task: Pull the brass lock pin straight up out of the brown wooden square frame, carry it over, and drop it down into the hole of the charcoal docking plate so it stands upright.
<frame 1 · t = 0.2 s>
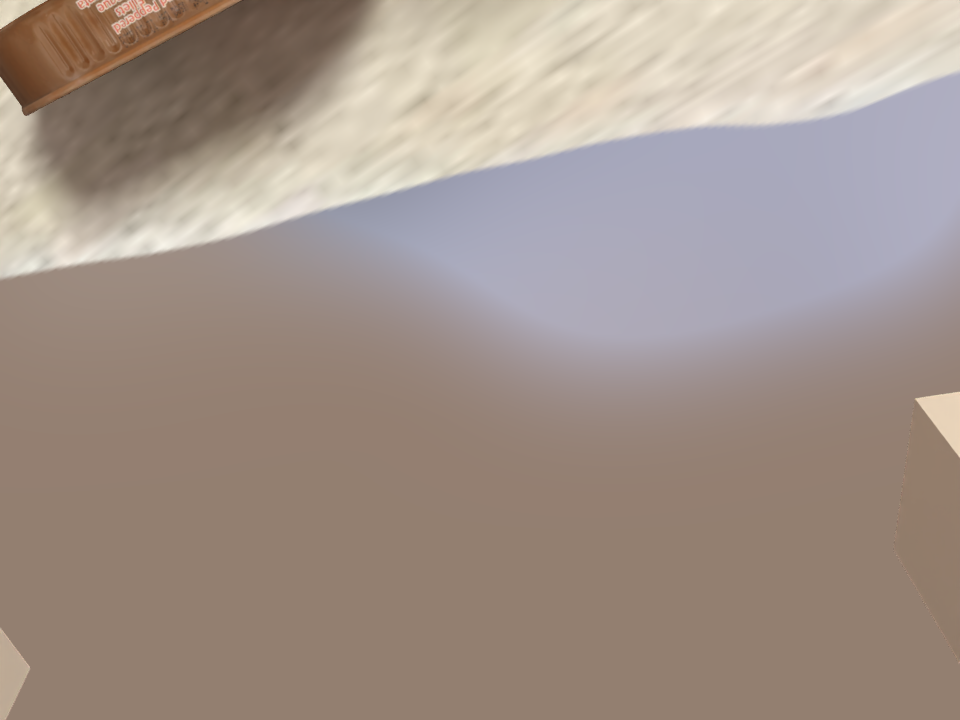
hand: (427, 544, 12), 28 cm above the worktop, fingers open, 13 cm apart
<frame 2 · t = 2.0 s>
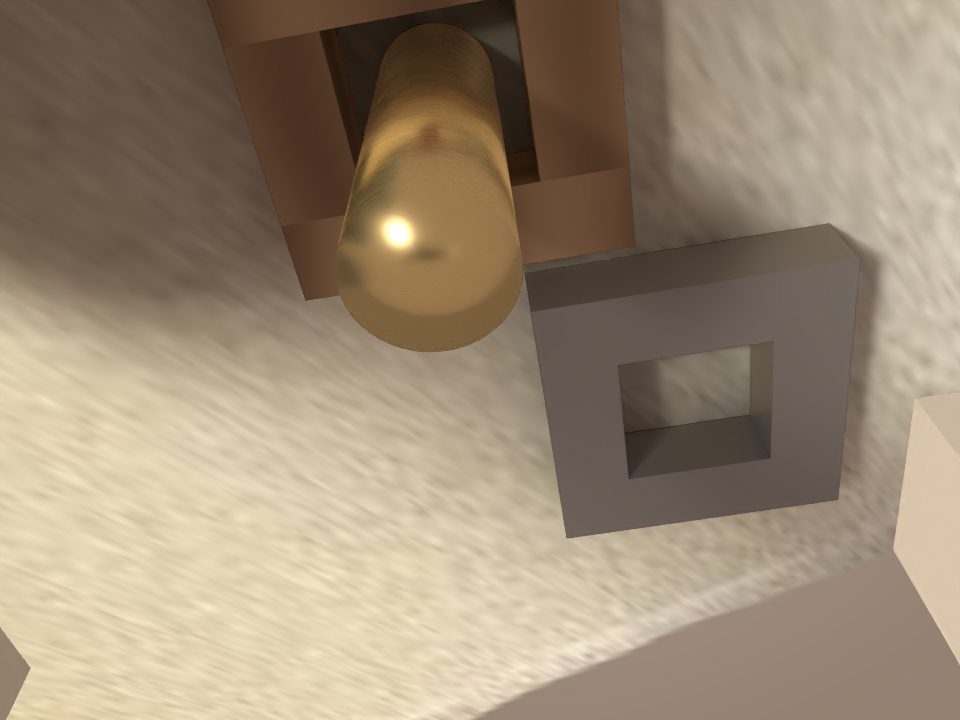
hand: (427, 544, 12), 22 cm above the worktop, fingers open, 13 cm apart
docking plate: (680, 371, 37), on the worktop
brown wooden square frame: (436, 83, 30), on the worktop
lock pin: (433, 155, 24), in the brown wooden square frame
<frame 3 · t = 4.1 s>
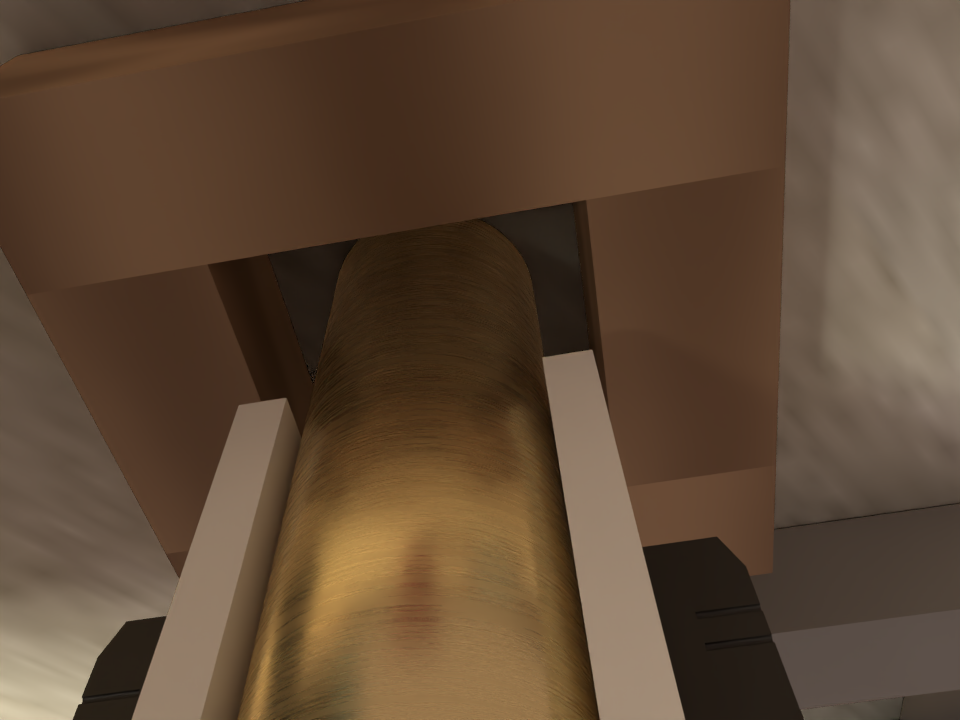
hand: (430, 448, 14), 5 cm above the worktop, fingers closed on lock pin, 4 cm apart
docking plate: (804, 672, 25), on the worktop
brown wooden square frame: (434, 301, 17), on the worktop
lock pin: (427, 558, 12), in the brown wooden square frame, touching gripper
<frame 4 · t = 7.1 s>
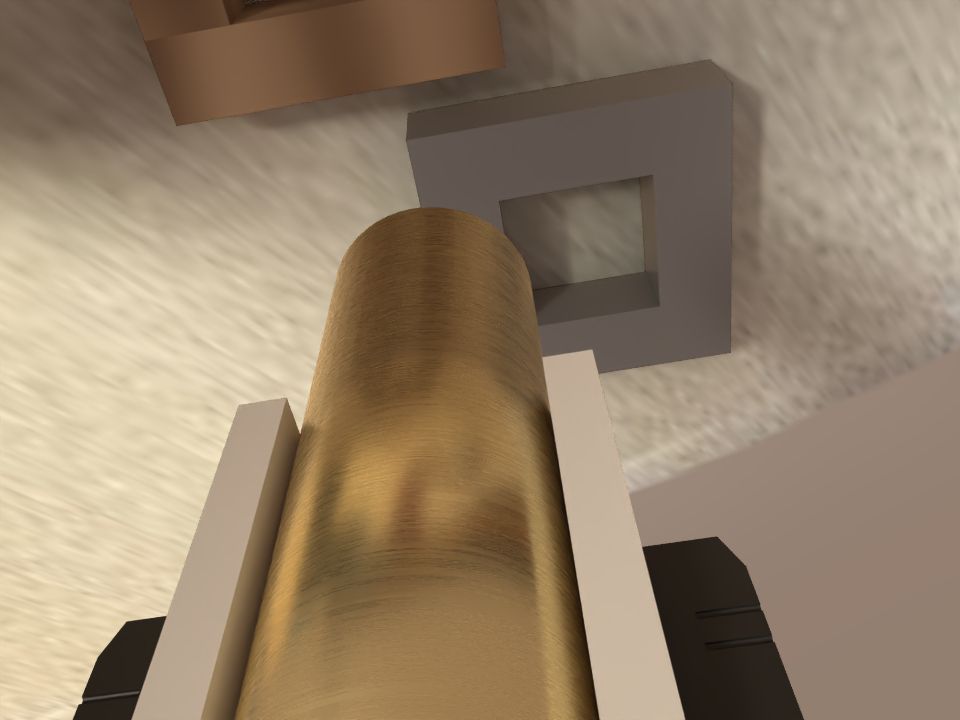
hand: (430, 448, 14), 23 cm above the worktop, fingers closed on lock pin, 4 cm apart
docking plate: (572, 223, 37), on the worktop
lock pin: (425, 553, 12), point 26 cm above the worktop, touching gripper
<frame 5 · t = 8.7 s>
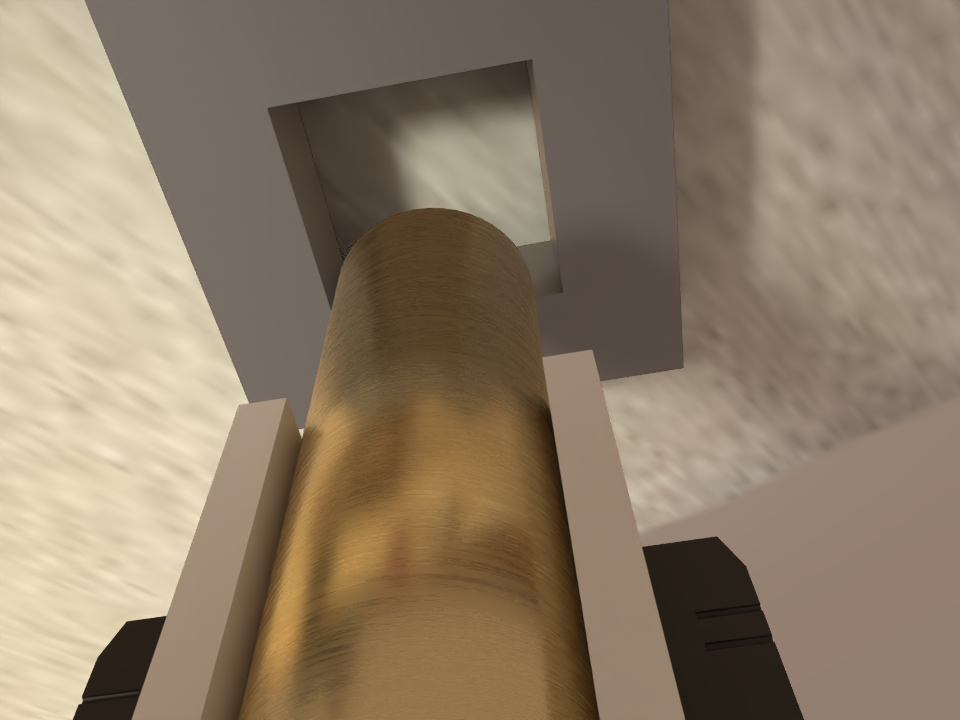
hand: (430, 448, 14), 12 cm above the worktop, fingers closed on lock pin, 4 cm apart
docking plate: (427, 160, 23), on the worktop
lock pin: (428, 552, 12), point 14 cm above the worktop, touching gripper
when the fingers open (5 cm above the worktop, at t = 10.1 s): lock pin stays where it is, resting in docking plate.
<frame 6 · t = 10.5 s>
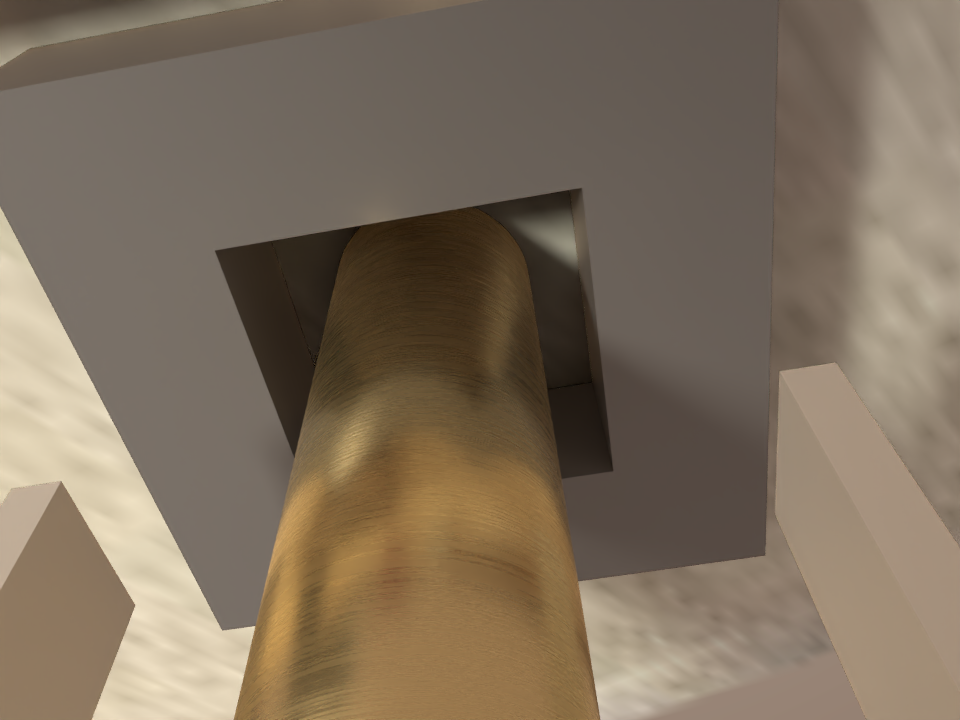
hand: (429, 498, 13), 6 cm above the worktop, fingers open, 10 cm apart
docking plate: (435, 289, 18), on the worktop
lock pin: (425, 532, 12), in the docking plate
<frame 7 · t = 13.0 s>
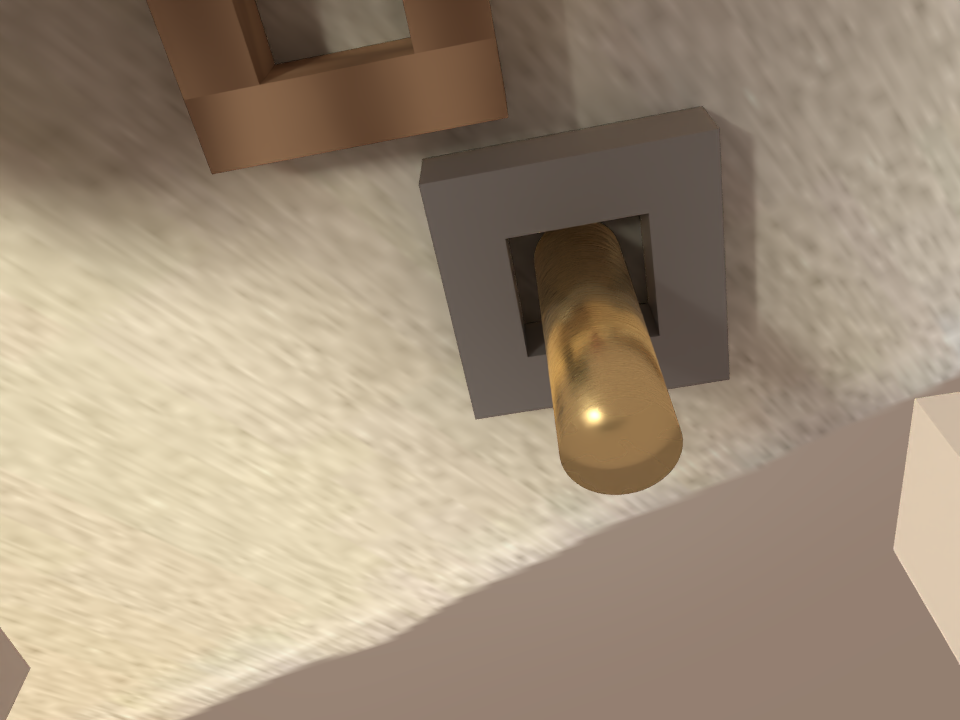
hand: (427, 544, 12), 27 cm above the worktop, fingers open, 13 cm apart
docking plate: (578, 258, 40), on the worktop
lock pin: (595, 336, 34), in the docking plate
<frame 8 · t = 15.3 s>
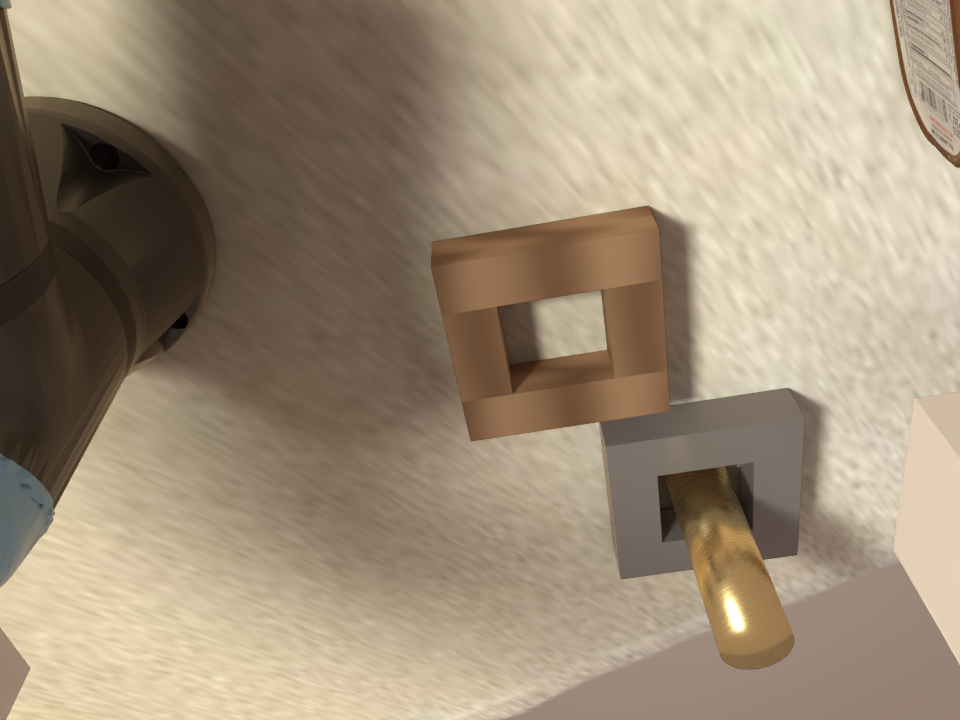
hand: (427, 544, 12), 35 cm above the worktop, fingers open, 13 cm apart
docking plate: (695, 472, 58), on the worktop
brown wooden square frame: (552, 316, 50), on the worktop
lock pin: (722, 549, 52), in the docking plate
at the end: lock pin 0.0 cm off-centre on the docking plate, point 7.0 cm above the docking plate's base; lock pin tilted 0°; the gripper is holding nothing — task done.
